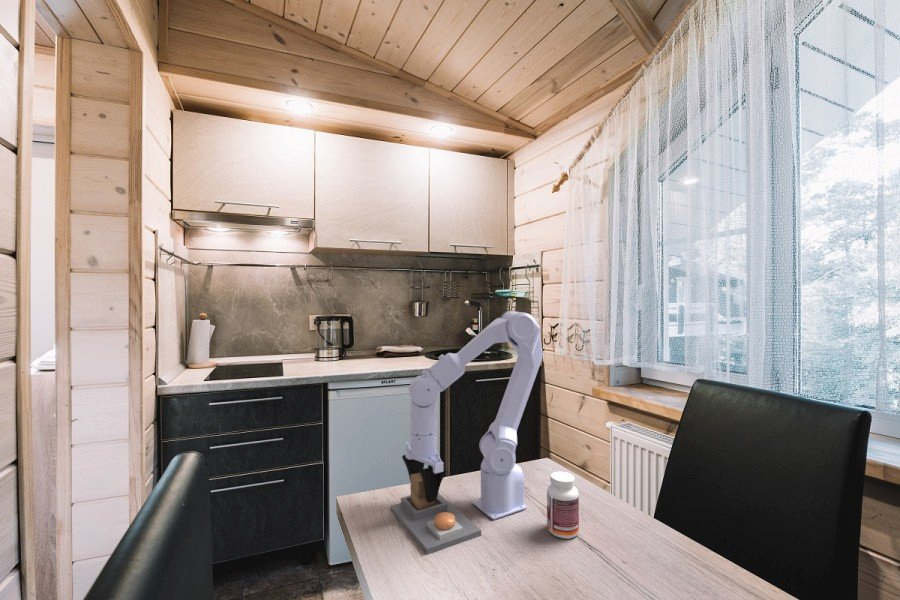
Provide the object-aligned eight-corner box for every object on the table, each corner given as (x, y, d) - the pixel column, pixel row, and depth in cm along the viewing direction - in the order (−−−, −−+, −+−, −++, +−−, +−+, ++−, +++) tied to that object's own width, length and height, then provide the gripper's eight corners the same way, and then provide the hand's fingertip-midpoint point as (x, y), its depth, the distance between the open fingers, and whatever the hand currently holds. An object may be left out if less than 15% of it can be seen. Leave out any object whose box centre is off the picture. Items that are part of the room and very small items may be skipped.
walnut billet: (426, 501, 93) (426, 470, 93) (435, 509, 89) (435, 477, 89) (410, 506, 91) (410, 474, 91) (418, 514, 87) (418, 481, 87)
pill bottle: (585, 533, 82) (585, 478, 82) (564, 543, 78) (564, 486, 78) (561, 519, 87) (561, 467, 87) (540, 528, 84) (540, 474, 84)
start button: (448, 516, 85) (448, 510, 85) (458, 525, 81) (458, 519, 81) (431, 521, 83) (431, 515, 83) (440, 531, 79) (440, 525, 79)
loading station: (438, 496, 97) (438, 486, 97) (481, 535, 81) (481, 522, 81) (390, 510, 91) (390, 499, 91) (427, 554, 75) (426, 540, 75)
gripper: (393, 425, 94) (394, 484, 94) (421, 445, 82) (421, 513, 82) (421, 420, 98) (421, 477, 98) (452, 439, 85) (452, 504, 85)
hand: (423, 493), depth 90 cm, fingers open, 7 cm apart
